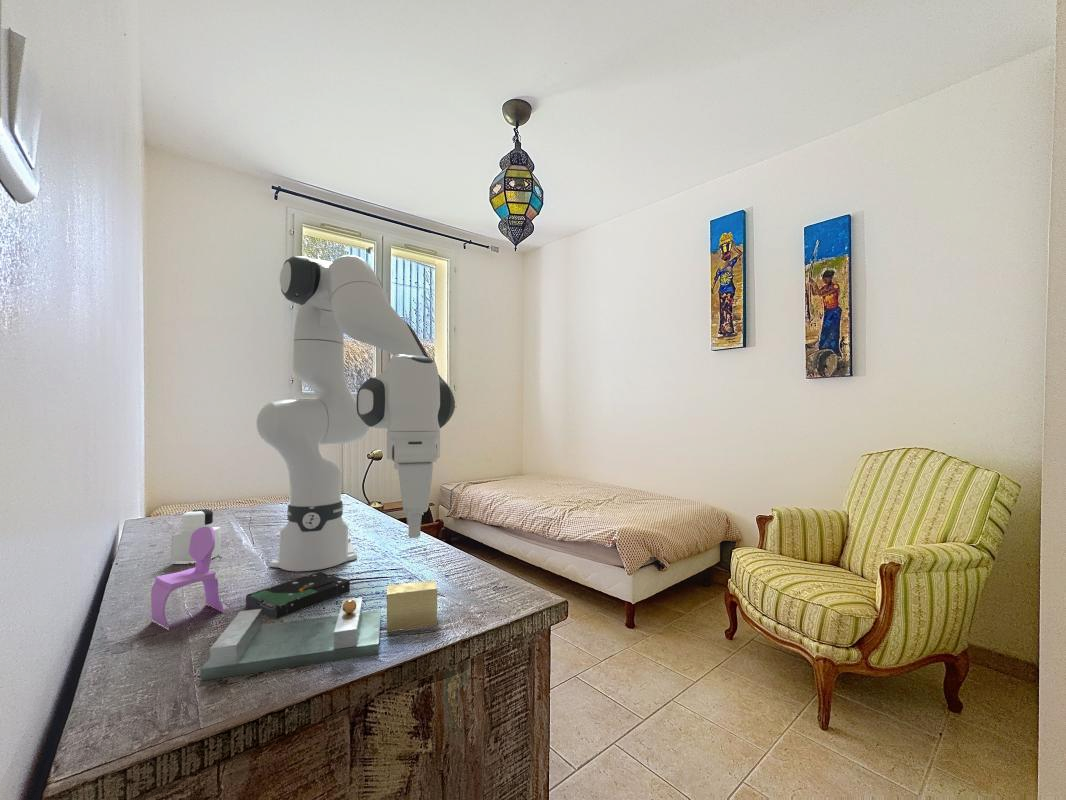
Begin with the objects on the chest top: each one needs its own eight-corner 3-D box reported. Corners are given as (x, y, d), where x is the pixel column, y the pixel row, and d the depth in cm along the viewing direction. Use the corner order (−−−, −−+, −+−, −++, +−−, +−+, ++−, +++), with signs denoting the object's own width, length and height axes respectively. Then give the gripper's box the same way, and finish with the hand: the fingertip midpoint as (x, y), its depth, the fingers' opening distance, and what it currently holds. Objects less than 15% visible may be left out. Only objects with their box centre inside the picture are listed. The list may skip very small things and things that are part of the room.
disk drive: (319, 584, 94) (244, 609, 81) (319, 571, 94) (244, 593, 82) (350, 594, 89) (276, 622, 76) (351, 580, 89) (276, 605, 76)
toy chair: (146, 621, 76) (149, 532, 76) (205, 603, 83) (208, 522, 84) (166, 633, 71) (169, 538, 72) (227, 613, 79) (229, 527, 79)
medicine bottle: (190, 556, 112) (191, 508, 113) (220, 555, 113) (221, 507, 113) (170, 565, 105) (172, 513, 105) (202, 564, 106) (204, 513, 106)
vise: (232, 638, 70) (232, 612, 70) (380, 619, 76) (381, 595, 76) (200, 680, 58) (201, 649, 58) (378, 654, 65) (378, 626, 65)
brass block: (386, 621, 76) (387, 585, 76) (434, 615, 78) (435, 580, 78) (386, 632, 72) (386, 594, 72) (436, 625, 74) (437, 588, 74)
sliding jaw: (343, 614, 74) (343, 587, 75) (362, 611, 75) (362, 585, 76) (333, 649, 63) (334, 617, 63) (356, 646, 64) (356, 614, 64)
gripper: (394, 445, 85) (393, 518, 84) (394, 452, 66) (393, 547, 65) (428, 444, 87) (427, 516, 86) (437, 451, 68) (437, 543, 67)
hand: (413, 530), depth 75 cm, fingers open, 8 cm apart
